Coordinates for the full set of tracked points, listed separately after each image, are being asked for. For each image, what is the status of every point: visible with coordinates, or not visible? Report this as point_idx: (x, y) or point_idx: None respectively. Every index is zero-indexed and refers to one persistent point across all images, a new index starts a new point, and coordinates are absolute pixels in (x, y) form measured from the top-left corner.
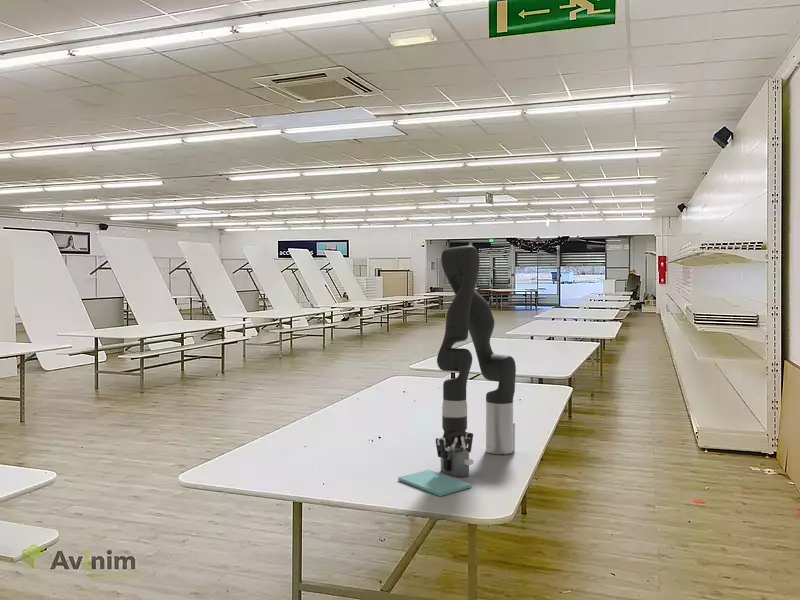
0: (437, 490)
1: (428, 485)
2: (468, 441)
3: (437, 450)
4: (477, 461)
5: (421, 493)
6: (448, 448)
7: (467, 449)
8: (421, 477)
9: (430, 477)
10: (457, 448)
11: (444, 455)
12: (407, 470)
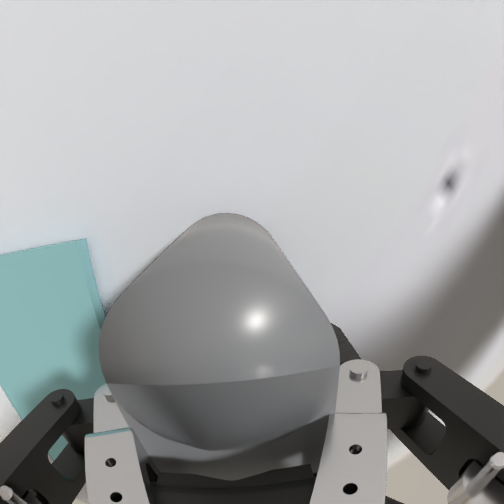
0: (50, 450)
1: (28, 412)
2: (447, 474)
3: (19, 432)
4: (482, 209)
5: (14, 409)
6: (193, 417)
7: (399, 428)
8: (12, 333)
9: (45, 361)
10: (302, 452)
11: (84, 456)
12: (27, 126)
